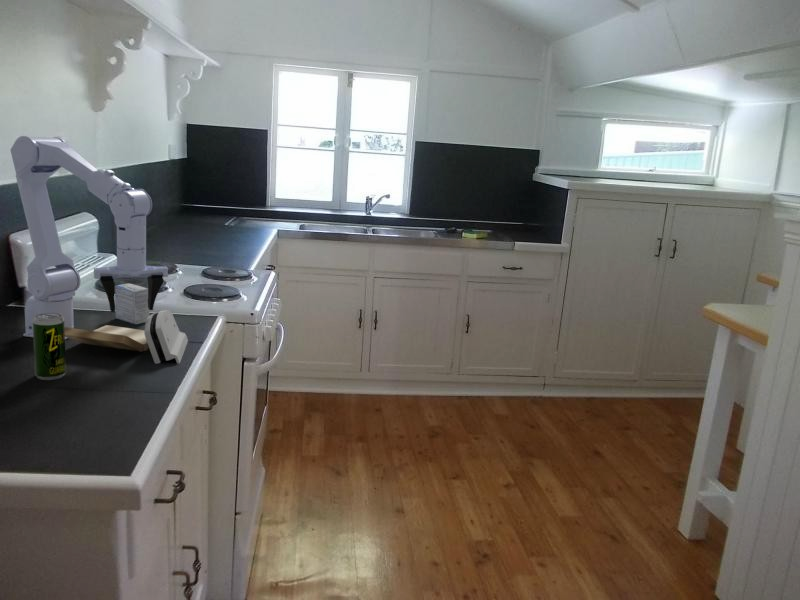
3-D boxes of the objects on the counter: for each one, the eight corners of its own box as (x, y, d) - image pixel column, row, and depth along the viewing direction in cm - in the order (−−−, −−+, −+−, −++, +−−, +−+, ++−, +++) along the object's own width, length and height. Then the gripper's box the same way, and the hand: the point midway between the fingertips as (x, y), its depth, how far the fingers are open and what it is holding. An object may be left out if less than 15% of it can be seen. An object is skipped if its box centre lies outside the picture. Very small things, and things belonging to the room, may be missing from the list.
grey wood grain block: (150, 322, 171) (150, 288, 169) (134, 325, 167) (134, 291, 165) (130, 315, 175) (129, 282, 173) (114, 318, 171) (114, 285, 169)
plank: (58, 333, 143) (60, 326, 143) (79, 342, 150) (81, 335, 151) (123, 343, 141) (125, 335, 141) (141, 351, 148) (143, 344, 149)
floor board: (82, 342, 152) (82, 335, 151) (106, 331, 160) (106, 325, 160) (144, 351, 149) (144, 344, 149) (165, 339, 158) (165, 333, 157)
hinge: (179, 364, 143) (162, 320, 140) (157, 371, 143) (140, 327, 140) (188, 340, 159) (173, 300, 156) (168, 346, 159) (153, 306, 156)
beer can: (28, 377, 129) (25, 317, 127) (50, 369, 135) (48, 310, 132) (51, 382, 128) (48, 321, 125) (72, 374, 133) (70, 315, 130)
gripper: (96, 251, 135) (97, 316, 139) (171, 251, 143) (170, 313, 146) (92, 245, 141) (93, 307, 145) (164, 244, 149) (163, 304, 152)
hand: (131, 309), depth 146 cm, fingers open, 7 cm apart
